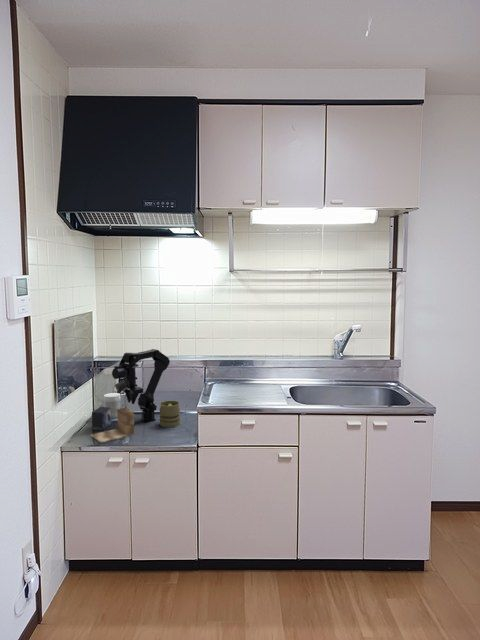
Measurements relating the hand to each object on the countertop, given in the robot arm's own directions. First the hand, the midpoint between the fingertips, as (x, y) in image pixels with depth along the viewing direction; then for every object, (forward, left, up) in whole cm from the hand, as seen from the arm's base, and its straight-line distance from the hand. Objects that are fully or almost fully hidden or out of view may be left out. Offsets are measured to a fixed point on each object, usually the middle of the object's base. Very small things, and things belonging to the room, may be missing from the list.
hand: (131, 403), depth 262 cm
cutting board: (+17, +7, -13) cm, 23 cm away
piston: (-18, +11, -13) cm, 25 cm away
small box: (+14, -8, -13) cm, 21 cm away
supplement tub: (+3, -18, -13) cm, 23 cm away
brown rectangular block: (+7, +7, -13) cm, 16 cm away
